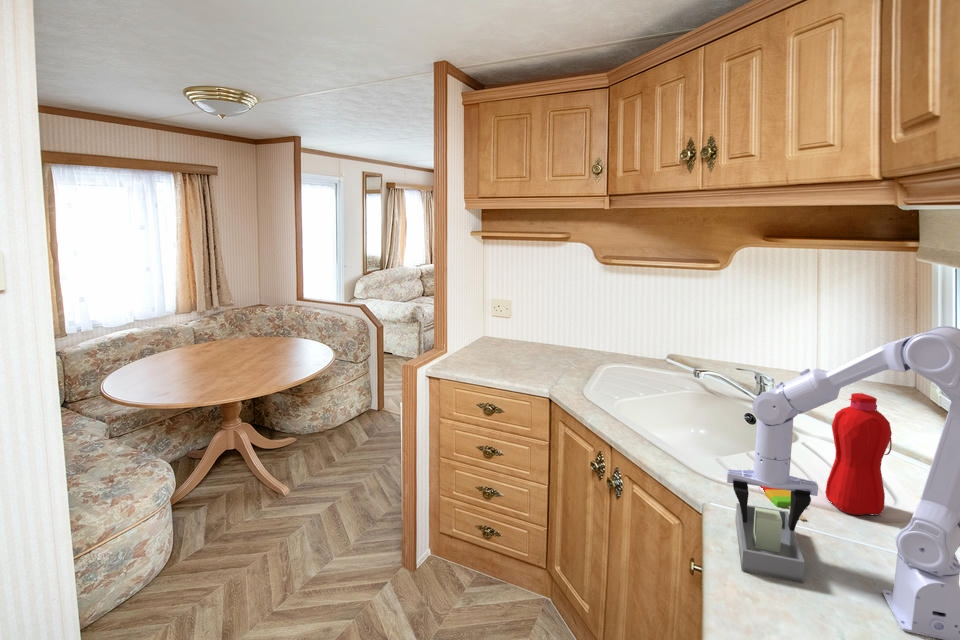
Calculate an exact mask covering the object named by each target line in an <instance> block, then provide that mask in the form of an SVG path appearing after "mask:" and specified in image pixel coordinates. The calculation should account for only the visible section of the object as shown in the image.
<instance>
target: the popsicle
mask: <svg viewBox="0 0 960 640" xmlns="http://www.w3.org/2000/svg"><path fill="white" fill-rule="evenodd" d="M760 487H761V488H763V490H764V492H765V495H764V496H765V497H766V498H767V499H768V500H769V501H770V502H771V503H772V504H773V505H774V506H775V507H776V508H788V509H790V505H791V491H789V490H783V489H776V488H769V487H763V486H759V488H760ZM799 520H800V521H807V519H806V517H805V516H804V515H803V513H802V514H801V516H800V518H799Z"/></svg>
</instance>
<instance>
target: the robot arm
mask: <svg viewBox="0 0 960 640" xmlns="http://www.w3.org/2000/svg"><path fill="white" fill-rule="evenodd" d="M887 370H889V371H894V372H902V373H905V372H908V371H910V370H912V371H914V372H915V373H916V374H918V375H919V376H921V377H923V378H924V379H927V380H928V381H930V382H932V383H934V384H935V385H936V387H938V388H939V389H940V390H941V391H942V393H944V395H945V396H946V397H947V398H948V399H949V400H950V406H949V408H948V413H947V415H946V418H945V421H944V424H943V426H942V427H943V428H942V430H941V433H940V437H939V439H938V443H937V447H936V450H935V451H934V455H933V458H932V461H931V465H930V468H929V471H928V474H927V478H926V481H925V484H924V487H923V490H922V494H921V497H920V499H919V502H918V504H917V506H916V508H915V510H914V511H913V514H912V516H911V519H910V521H909V523H907V525H906V526H905V527H904V528H903V529H902V530H900V531H899V532H898V534H897V535H896V538H895V544H896V548H897V555H896V562H895V563H896V565H895V574H894V581H893V582H894V583H893V589H892V590H893V591H892V590H886V589H883V590H882V595H883V597H884V599H885V600H886V602H887V603H888V604H887V605H888V606H889V607H890V610H891V612H892V614H893V616H894V618H895V619H896V622H897V624H898V625H899V627H900V629H901V630H902V631H904V632H909V633H912V634H917V635H922V636H925V637H926V636H927V637H930V638H935V639H940V640H960V584H959V582H960V581H959V580H960V563H959V559H958V557H957V555H956V552H957V550H959V548H960V328H958V327H955V326H949V325H944V326H943V325H941V326H937V327H932V328H930V329H928V330H927V331H926V332H921V333H916V334H912V335H909V336H906V337H902V338H900V339H897V340H893V341H890V342H888V343H885V344H883V345H880V346H877V347H875V348H874V349H872V350H869V351H868V352H866V353H864V354H862V355H860V356H858V357H855V358H853V359H852V360H850V361H848V362H845V363H843V364H842V365H839V366H837V367H836V368H833V369H832V370H829V371H828V370H825V369H820V368H814V369H812V370H811V369H810V368H806V369H803V370H801V371H799V372H798V374H799V376H796V377H795V378H792V379H791V380H788V381H786V382H783V381H780V382H778V383H776V384H775V385H774V386H775V388H772V389H770V390H767V391H762V392H761V393H760V394H759V395H758V396H756V397H755V398H754V400H753V401H752V411H753V414H754V416H755V418H757V419H756V420H757V421H756V431H755V432H756V433H755V445H754V459H753V460H754V461H753V469H731V468H730V469H728V468H727V469H726V483H727V484H732V486H733V487H732V488H733V491H734V493H735V496H736V498H737V500H738V503H739V504H740V507H741V511H742V521H743V522H744V523H747V505H748V503H749V502H748V501H749V485H751V486H758V487H760V486H763V487H769V488H776V489H783V490H789V491H791V505H790V508H789V512H788V513H789V520H788V526H789V529H790V531H795V530H796V527H797V523H798V522H799V520H800V516H801V514H802V515H803V513H804V512H805V510H806V509H807V508H808V507H809V505H811V502H812V497H811V496H813V497H817V496H818V492H819V491H818V490H819V485H818V483H817V481H814V480H809V479H805V478H801V477H796V476H793V475H790V472H791V459H792V448H793V447H792V446H793V445H792V444H793V433H794V431H793V428H794V418H795V417H797V416H798V415H801V414H804V413H807V412H810V411H812V410H814V409H816V408H819V407H821V406H824V405H826V404H828V403H830V402H832V401H835V400H837V399H838V397H839V394H840V391H841V389H842V388H844V387H846V386H849V385H851V384H853V383H856V382H859V381H862V380H863V379H866V378H869V377H872V376H874V375H876V374H879V373H882V372H884V371H887Z"/></svg>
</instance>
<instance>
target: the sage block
mask: <svg viewBox="0 0 960 640" xmlns="http://www.w3.org/2000/svg"><path fill="white" fill-rule="evenodd" d="M781 532H782V519H781V516H780V513H779V511H774V510H768V509H761V508H755V516H754V530H753V539H754V544H755V548H758V549H764V550H769V551H774V552H780V544H781Z"/></svg>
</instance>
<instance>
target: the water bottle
mask: <svg viewBox="0 0 960 640" xmlns="http://www.w3.org/2000/svg"><path fill="white" fill-rule="evenodd" d="M850 395H851V397H850V398H848V400H849V401H850V406H847V407H843V408H840V410H838V411H837V412H836V413H835V414H834V417H833V421H832V423H831V431H832V435H833V436H832V437H833V441H834V447H835V459H834V462H833V464H832V466H831V469H830V473H829V474H828V475H829V476H828V477H827V481H826V485H825V492H824V493H825V497H826V498H827V501H828V500H829V501H830V503H831V502H832V503H833V504H832V503H831V504H832V505H834V507H835V506H836V507H835V508H837V509H838V510H839V511H841V512H843V513H845V514H849V515H853V516H855V515H858V516H859V515H860V516H864V515H863V514H879V515H881V514H882V513H883V511H884V509H885V498H886V496H885V494H886V493H885V489H884V488H885V486H884V481H883V475H882V460H883V458H884V457H885V456H888V455H890V453H891V450H892V447H893V446H892V445H893V444H892V442H893V441H892V435H893V433H892V427H891V422H889V420H888V419H887V418H886V417H885V415H883V414H882V413H881V412H880V411H879V410H878V405H877V400H878V399H877V398H876V397H875V396H872V395H870V394H865V393H863V392H854V393H852V394H850ZM888 446H889V450H888V452H887V453H886V451H887V449H888ZM829 501H828V502H829ZM880 513H881V514H880Z"/></svg>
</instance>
